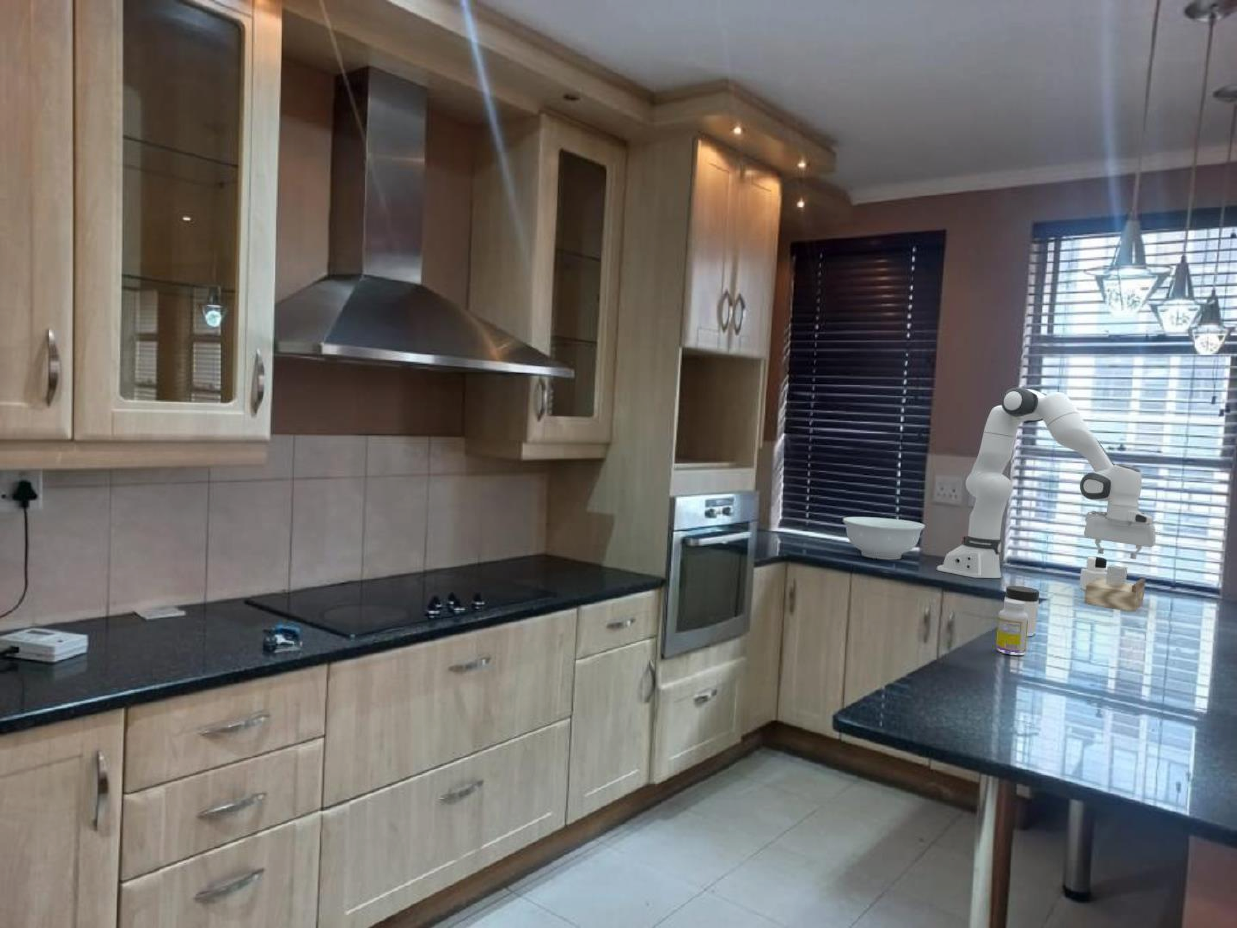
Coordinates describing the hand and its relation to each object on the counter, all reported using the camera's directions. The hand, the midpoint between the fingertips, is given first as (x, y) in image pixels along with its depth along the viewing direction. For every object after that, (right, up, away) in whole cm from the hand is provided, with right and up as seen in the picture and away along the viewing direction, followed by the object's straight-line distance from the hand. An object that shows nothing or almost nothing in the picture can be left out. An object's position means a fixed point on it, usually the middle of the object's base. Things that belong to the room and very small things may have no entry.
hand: (1116, 556), depth 280 cm
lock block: (0, -10, +1) cm, 10 cm away
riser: (0, -16, +1) cm, 16 cm away
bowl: (-56, -8, +71) cm, 90 cm away
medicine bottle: (+5, -15, +22) cm, 27 cm away
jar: (-55, -16, -49) cm, 75 cm away
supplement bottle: (-67, -16, -71) cm, 99 cm away
